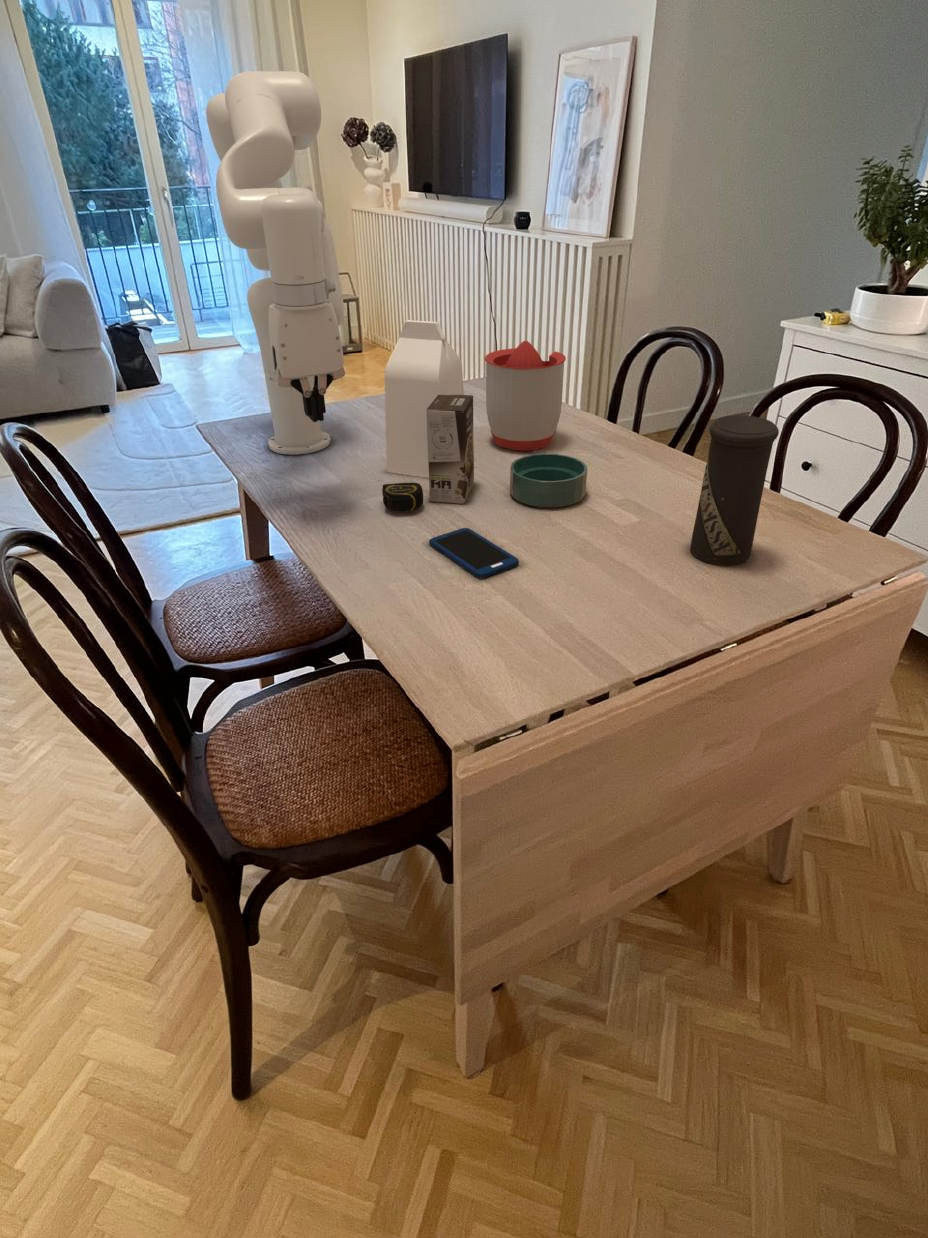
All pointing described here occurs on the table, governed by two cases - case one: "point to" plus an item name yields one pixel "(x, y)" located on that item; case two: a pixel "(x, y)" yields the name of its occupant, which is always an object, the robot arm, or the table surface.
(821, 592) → the table surface
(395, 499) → the tape measure
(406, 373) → the milk
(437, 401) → the coffee box
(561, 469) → the green bowl
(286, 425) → the robot arm
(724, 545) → the container
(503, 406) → the citrus juicer
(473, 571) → the cell phone
